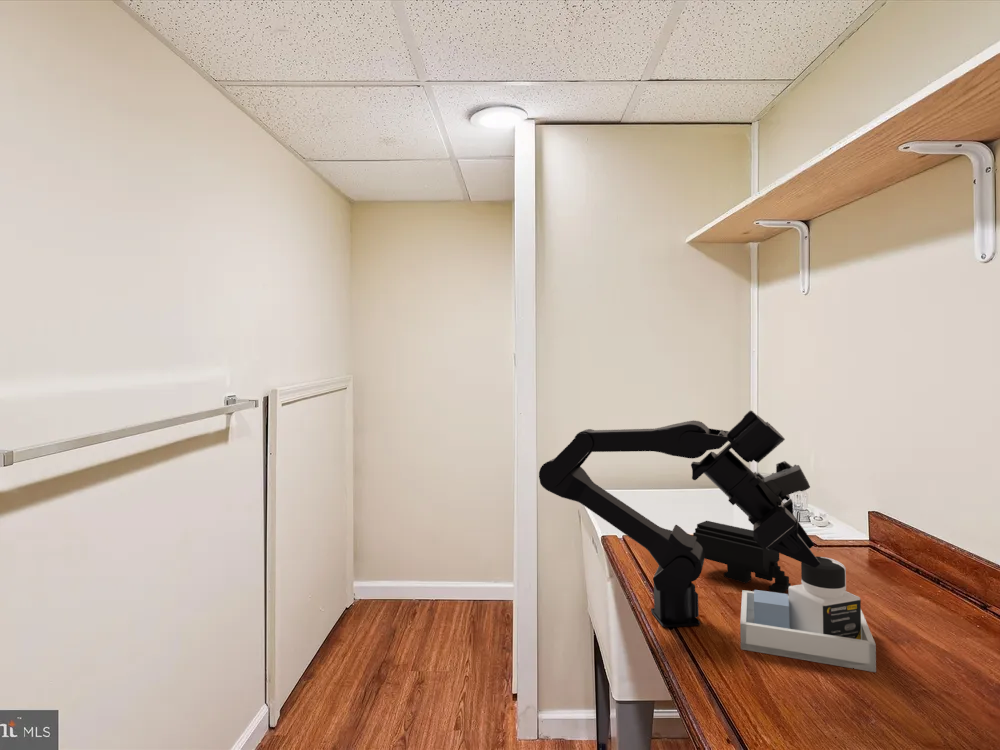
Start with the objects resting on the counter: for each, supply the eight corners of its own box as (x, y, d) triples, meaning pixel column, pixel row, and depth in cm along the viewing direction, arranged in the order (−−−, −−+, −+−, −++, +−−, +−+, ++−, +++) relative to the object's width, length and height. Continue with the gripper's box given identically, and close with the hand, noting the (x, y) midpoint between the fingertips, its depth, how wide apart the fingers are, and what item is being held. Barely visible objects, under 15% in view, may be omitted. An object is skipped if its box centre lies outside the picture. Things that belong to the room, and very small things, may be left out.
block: (789, 638, 88) (789, 606, 87) (754, 632, 90) (754, 601, 90) (788, 624, 92) (787, 594, 92) (754, 619, 94) (754, 589, 94)
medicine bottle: (824, 651, 83) (822, 571, 83) (788, 629, 90) (786, 555, 90) (862, 643, 85) (861, 565, 85) (824, 623, 92) (822, 550, 92)
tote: (740, 649, 87) (740, 623, 86) (742, 612, 99) (742, 590, 99) (876, 672, 79) (875, 644, 79) (859, 629, 92) (859, 605, 91)
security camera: (780, 598, 104) (779, 545, 104) (690, 571, 118) (689, 525, 118) (796, 588, 109) (795, 537, 109) (708, 563, 123) (707, 518, 123)
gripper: (777, 458, 81) (867, 541, 77) (773, 440, 98) (847, 508, 94) (720, 507, 85) (803, 590, 80) (725, 482, 102) (795, 549, 97)
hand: (814, 555), depth 88 cm, fingers open, 9 cm apart
